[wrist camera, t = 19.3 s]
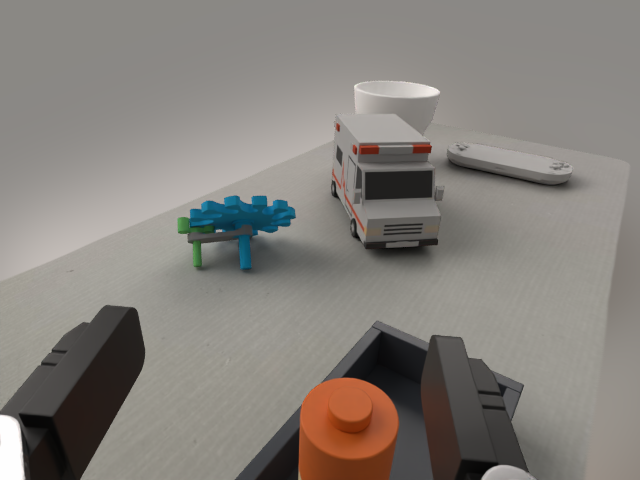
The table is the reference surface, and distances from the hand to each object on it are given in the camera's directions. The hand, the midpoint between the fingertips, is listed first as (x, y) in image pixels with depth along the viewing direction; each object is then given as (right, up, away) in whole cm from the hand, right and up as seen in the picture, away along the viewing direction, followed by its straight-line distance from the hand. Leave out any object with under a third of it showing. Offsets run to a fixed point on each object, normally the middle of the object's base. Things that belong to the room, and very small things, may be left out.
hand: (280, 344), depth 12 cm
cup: (+12, +15, +58) cm, 61 cm away
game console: (+30, +14, +57) cm, 65 cm away
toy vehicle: (+8, +5, +40) cm, 41 cm away
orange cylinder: (+2, -11, +8) cm, 14 cm away
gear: (-7, +1, +32) cm, 33 cm away
